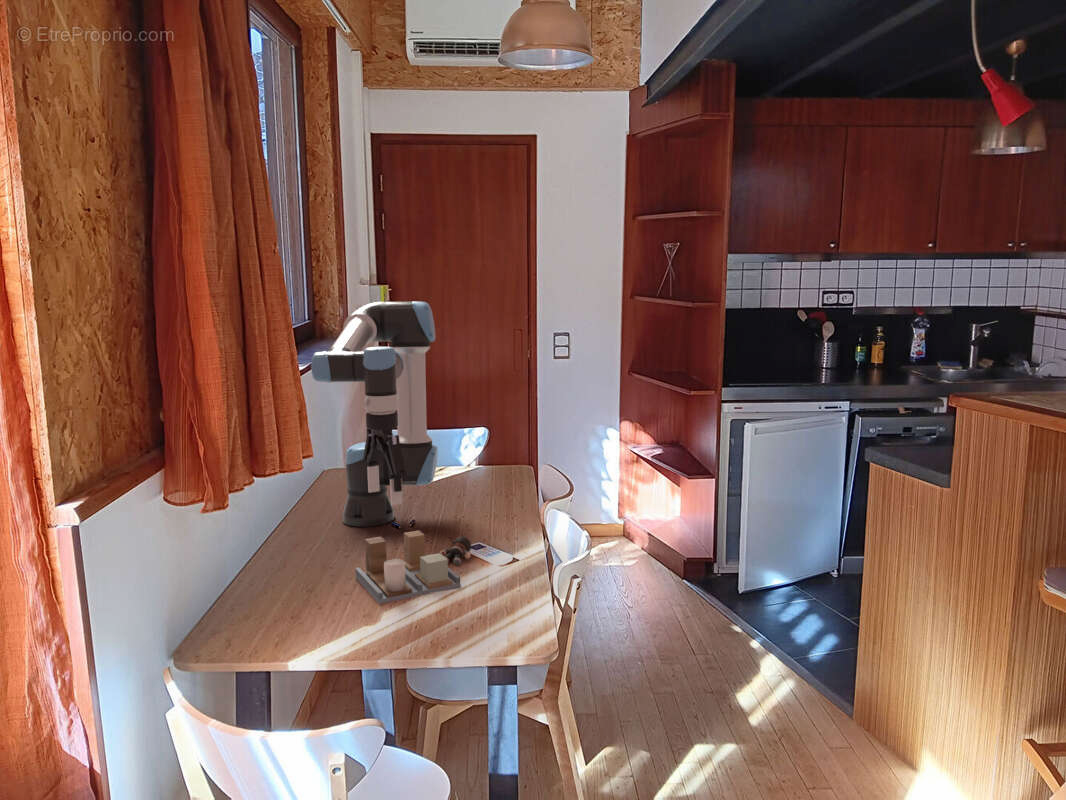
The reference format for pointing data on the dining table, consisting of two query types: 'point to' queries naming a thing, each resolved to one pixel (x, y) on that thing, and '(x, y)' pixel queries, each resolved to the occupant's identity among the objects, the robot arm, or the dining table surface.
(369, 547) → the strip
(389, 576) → the cream rounded capsule
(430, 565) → the sage block
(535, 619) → the dining table surface
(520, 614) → the dining table surface
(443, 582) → the lane board
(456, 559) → the figurine
